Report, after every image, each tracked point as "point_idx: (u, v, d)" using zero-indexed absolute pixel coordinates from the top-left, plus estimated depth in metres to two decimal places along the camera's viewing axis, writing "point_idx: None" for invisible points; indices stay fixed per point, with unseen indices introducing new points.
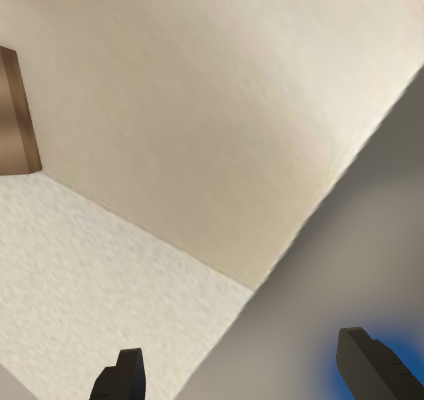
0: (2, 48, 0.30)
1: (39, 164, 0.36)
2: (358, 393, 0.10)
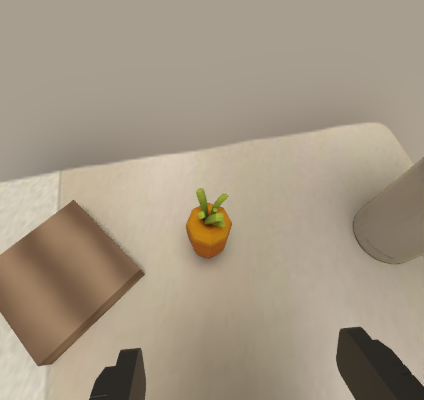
0: (139, 271, 0.34)
1: (55, 358, 0.32)
2: (358, 393, 0.10)
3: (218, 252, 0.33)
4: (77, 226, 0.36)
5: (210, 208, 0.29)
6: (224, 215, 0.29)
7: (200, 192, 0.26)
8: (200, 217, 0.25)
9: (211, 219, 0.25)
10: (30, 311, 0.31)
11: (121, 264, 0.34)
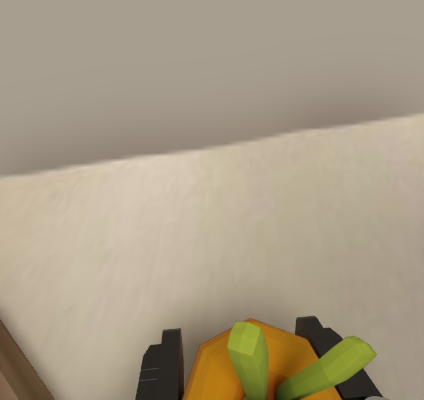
0: None
1: None
2: None
3: None
4: None
5: (269, 356, 0.08)
6: None
7: (253, 357, 0.05)
8: None
9: None
10: None
11: None
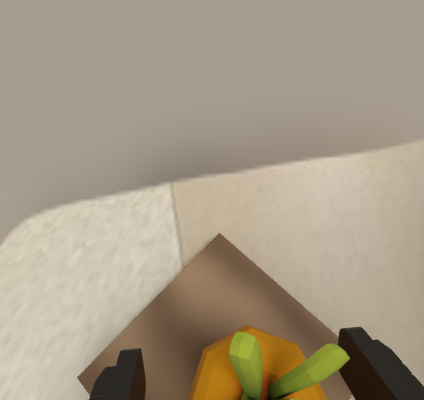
0: None
1: None
2: (358, 393, 0.10)
3: None
4: (237, 281, 0.21)
5: (263, 359, 0.09)
6: None
7: (249, 360, 0.06)
8: None
9: None
10: None
11: None
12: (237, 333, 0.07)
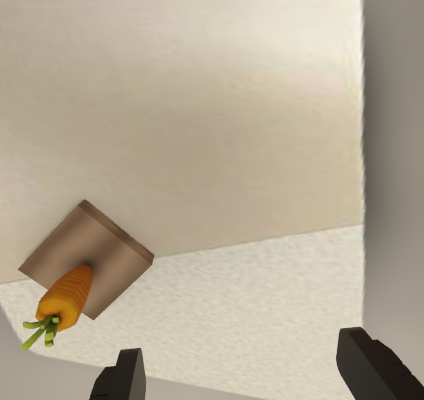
0: (80, 205, 0.40)
1: (150, 253, 0.45)
2: (358, 393, 0.10)
3: (85, 281, 0.36)
4: (44, 261, 0.41)
5: (41, 318, 0.31)
6: (46, 306, 0.31)
7: (25, 348, 0.28)
8: (51, 345, 0.29)
9: None
10: (116, 278, 0.43)
11: (74, 221, 0.40)
12: (21, 347, 0.29)
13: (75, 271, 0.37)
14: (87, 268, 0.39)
